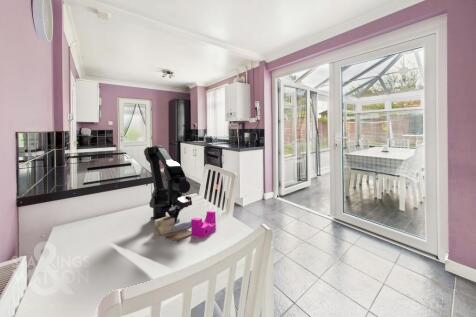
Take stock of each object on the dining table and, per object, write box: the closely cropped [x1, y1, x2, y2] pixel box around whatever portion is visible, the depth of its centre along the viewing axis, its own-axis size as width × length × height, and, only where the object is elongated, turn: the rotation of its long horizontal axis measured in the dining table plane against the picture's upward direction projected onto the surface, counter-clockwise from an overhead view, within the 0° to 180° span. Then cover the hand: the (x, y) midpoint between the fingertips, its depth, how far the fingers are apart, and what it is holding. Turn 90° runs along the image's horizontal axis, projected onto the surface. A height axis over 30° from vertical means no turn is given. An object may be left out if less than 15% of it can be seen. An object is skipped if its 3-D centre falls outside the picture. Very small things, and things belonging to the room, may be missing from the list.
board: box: [164, 228, 192, 242], centre depth 93 cm, size 8×10×1 cm
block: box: [154, 215, 176, 236], centre depth 97 cm, size 5×7×6 cm
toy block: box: [190, 210, 217, 239], centre depth 97 cm, size 15×6×8 cm, turn 157°
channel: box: [172, 218, 191, 233], centre depth 103 cm, size 10×10×2 cm
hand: (174, 223), depth 102 cm, fingers closed
